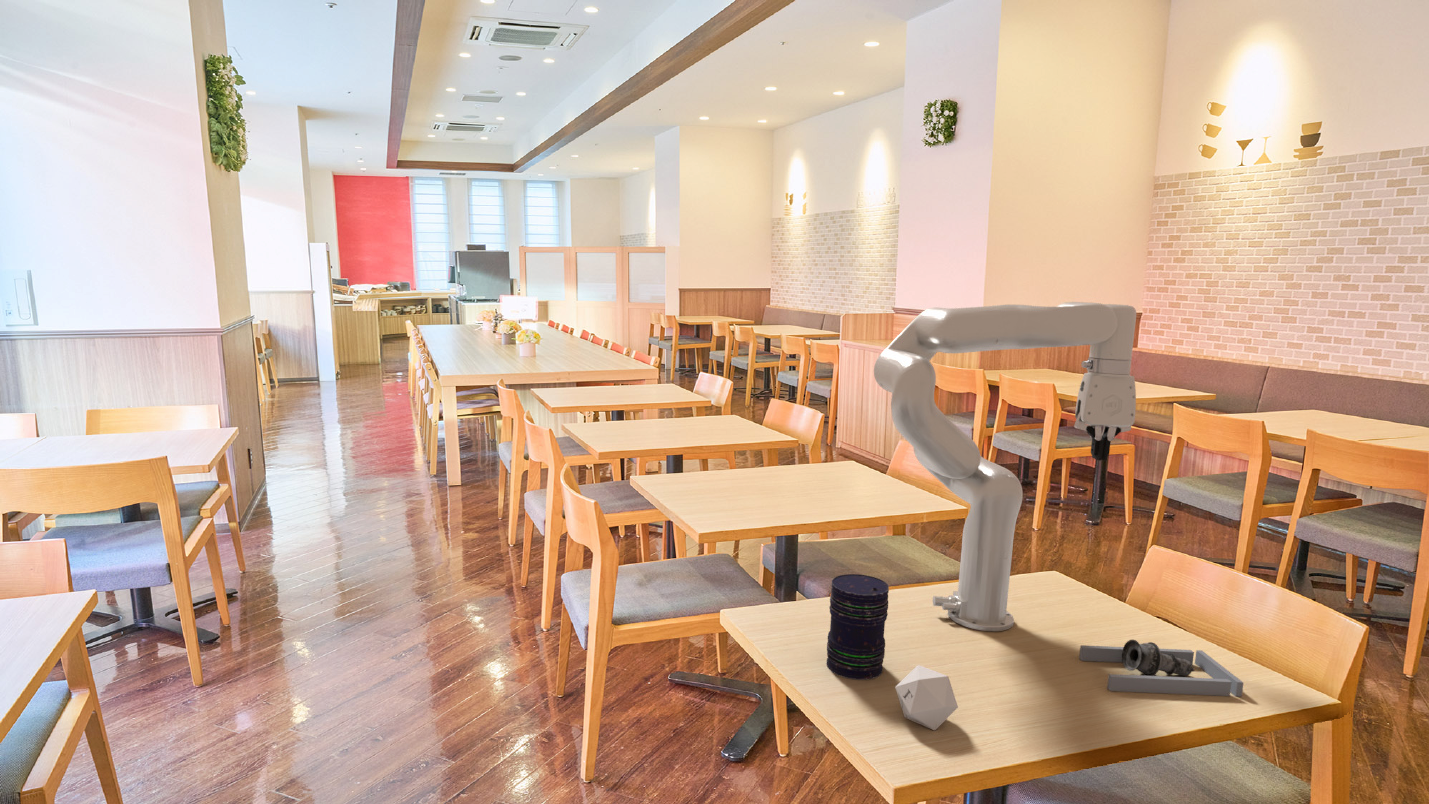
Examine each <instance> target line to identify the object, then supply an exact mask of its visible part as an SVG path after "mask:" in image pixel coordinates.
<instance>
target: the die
mask: <svg viewBox="0 0 1429 804" xmlns="http://www.w3.org/2000/svg"><path fill="white" fill-rule="evenodd" d="M894 688H895V691H896V694H897V697H898V700H899V704H900V707H901V710H902V713H903V716H904V718H905V719H906V720H910V721H912V722H914V723H917V724H919V725H920V726H921V725H922V726H923V727H925V728H928V729H931V731H932V730H933V731H936V730H937V729H938V728H939V727H941V725H942V724H943V723H944V722H945V721H947V719H948V718H949V717H950V716H951V715H952V714H953V713H954V712H955V711H956V710H957V709H958V708H959V706H958V703H957V700H956V696H955V693H954V690H953V687H952V683H951V681H950V678H949V676H948V675H946V674H943V673H941V672H938V671H935V670H933V669H930V668H927V667H925V666H923V665H920V664H917V665H916V666H915V667H914V668H913V669H912V670H911V671H910V672H909V673H908V674H907V675H906V676H905V677H904V678H903V679H901V680H900V682H899V683H897V685H895V687H894Z"/></svg>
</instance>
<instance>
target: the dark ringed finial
mask: <svg viewBox="0 0 1429 804" xmlns="http://www.w3.org/2000/svg"><path fill="white" fill-rule="evenodd" d="M1123 647H1124V648H1123V651H1122V662H1123V663H1122V662H1121V663H1122V664H1123V666H1124V668H1125V669H1126V670H1128V671H1131V672H1132V671H1135V670H1137V671H1138V672H1140V673H1141V674H1143V676H1156V675H1157V673H1159V672H1160V671H1161V672H1164V673H1165V674H1167V675H1173V674H1175V675H1179V676H1181V677H1187V676H1189V675H1191V673H1192V672H1194V671H1195V668H1194V667H1193V664H1192V665H1191V663H1190V662H1189V661H1187V660H1184V659H1180V658H1176V657H1175V656H1174V655H1173V654H1168V655H1166V654H1162V653H1161V651H1160V649H1161V648H1160V647H1159V646H1158V645H1157V644H1156V643H1155V642H1151V641H1150V642H1143V643H1139V641H1138V640H1136V639H1129V640H1128V641H1126V642H1125V643H1124V646H1123Z"/></svg>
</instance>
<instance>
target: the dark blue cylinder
mask: <svg viewBox="0 0 1429 804" xmlns="http://www.w3.org/2000/svg"><path fill="white" fill-rule="evenodd" d="M889 589H890V587H889V584H888V583H887V582H886V581H884V580H883V579H881V578H877V577H875V576H872V575H867V574H859V573H857V574H856V573H847V574H846V573H845V574H840V575H837V576H835V577H833V578H832V580H831V590H830V595H829V597H830V598H829V602H830V604H829V613H830V626H829V631H828V635H827V642H826V643H827V644H826V652H827V653H826V656H827V658H826V666H827V668H828V669H829V671H830V672H832V673H833V674H835V675H837V676H840V677H843V678H846V679H849V680H856V681H857V680H860V681H863V680H864V681H865V680H873V679H875V678H878V677H879V676H881V675H882V673H883V670H884V668H883V663H884V659H885V654H886V653H885V651H886V650H885V649H886V639H885V627H886V625H885V624H886V622H887V621H886V620H887V619H888V614H889V613H888V609H889V591H890V590H889Z"/></svg>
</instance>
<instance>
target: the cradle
mask: <svg viewBox="0 0 1429 804" xmlns="http://www.w3.org/2000/svg"><path fill="white" fill-rule="evenodd" d="M1079 646H1080V649H1079V656H1078V657H1079V658H1078V659H1079V660H1080V661H1082V662H1099V663H1101V662H1104V663H1122V664H1123V662H1122V651H1123V648H1124V646H1105V645H1104V646H1103V645H1086V644H1083V645H1082V644H1081V645H1079ZM1159 649H1160V651H1161V653H1162V654H1166V655H1168V654H1173V655H1174V656H1175V657H1176V658H1180V659H1184V660H1187V661H1189V662H1190V663H1191V665H1192V666H1193V663H1194V664H1195V665H1196V666H1198V667H1199V668H1200V669H1201V670H1202V671H1204V672H1205V673H1206V674H1207V675H1209V676H1210V677H1211V678H1208V677H1190V676H1189V677H1187V676H1165V675H1164V676H1161V675H1154V676H1145V675H1139V674H1137V675H1135V674H1119V673H1118V674H1116V673H1114V674H1113V673H1112V674H1111V673H1108V679H1107V687H1106V688H1107V690H1109V691H1110V692H1125V693H1146V694H1147V693H1151V694H1152V693H1153V694H1170V695H1171V694H1172V695H1173V694H1174V695H1176V694H1177V695H1194V696H1195V695H1197V696H1219V697H1220V696H1221V697H1224V696H1225V697H1230V695H1231V694H1232V695H1233V696H1234V697H1240V698H1241V697H1242V695H1243V690H1244V689H1243V688H1244V682H1243V681H1242V680H1241V679H1240V678H1238V677H1237V676H1236V675H1234V674H1233V673H1232V672H1231V671H1230V670H1228V669H1226V668H1225V666H1223V665H1221V664H1220V663H1219V662H1218V661H1216V660H1215V659H1213V657H1211V656H1210V655H1208V653H1206V652H1205V651H1204V650H1200V649H1199V650H1198V649H1197V650H1195V651H1196V652H1194V651H1193V650H1191V649H1181V648H1180V649H1178V648H1177V649H1176V648H1159ZM1194 654H1195V655H1194ZM1194 656H1195V657H1194ZM1194 658H1195V659H1194ZM1193 661H1194V662H1193Z"/></svg>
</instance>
